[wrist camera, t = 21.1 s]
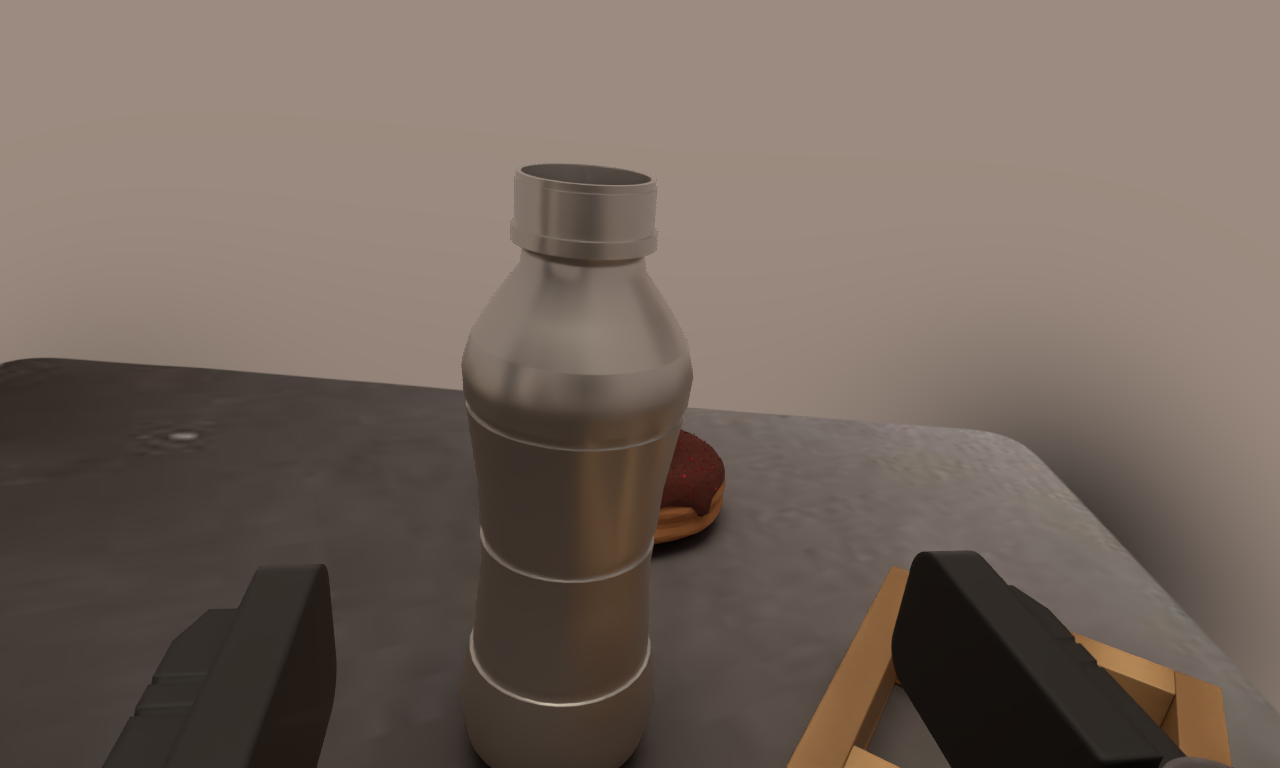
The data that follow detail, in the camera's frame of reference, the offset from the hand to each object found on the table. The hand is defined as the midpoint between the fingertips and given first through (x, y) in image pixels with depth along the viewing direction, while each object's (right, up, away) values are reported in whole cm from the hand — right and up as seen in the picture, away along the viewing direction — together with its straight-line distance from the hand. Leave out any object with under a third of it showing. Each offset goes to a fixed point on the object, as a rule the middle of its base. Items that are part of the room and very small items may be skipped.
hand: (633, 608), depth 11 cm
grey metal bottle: (-3, -10, +17) cm, 20 cm away
